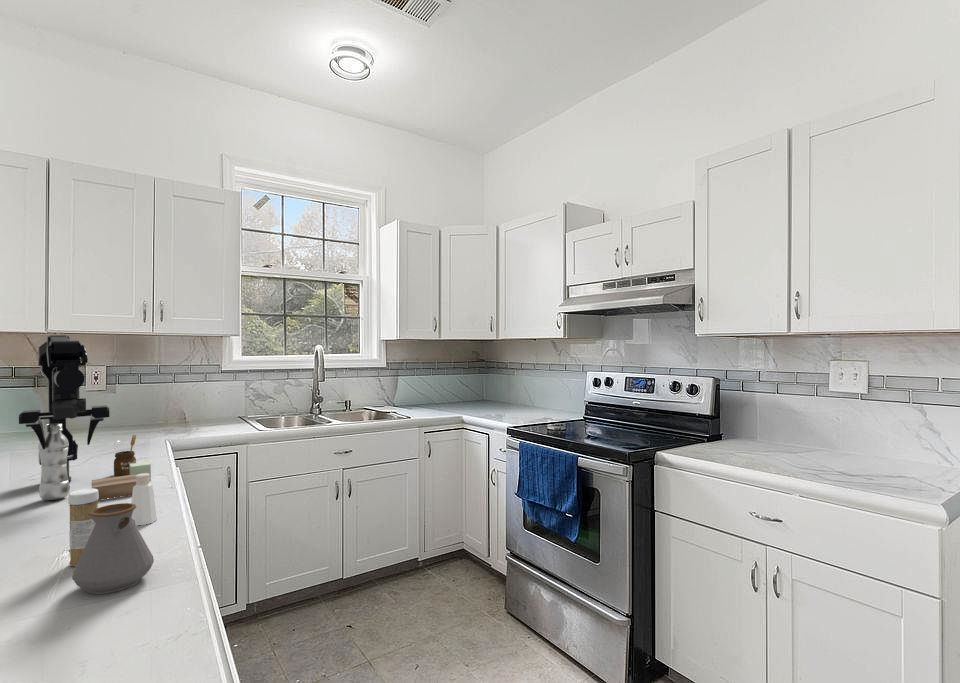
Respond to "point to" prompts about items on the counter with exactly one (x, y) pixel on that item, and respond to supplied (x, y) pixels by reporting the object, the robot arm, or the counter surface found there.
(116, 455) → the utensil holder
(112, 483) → the walnut block
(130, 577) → the coffee pot
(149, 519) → the salt shaker
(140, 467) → the sage cube
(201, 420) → the counter surface
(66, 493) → the plastic bottle
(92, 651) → the counter surface
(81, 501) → the sprinkles bottle
